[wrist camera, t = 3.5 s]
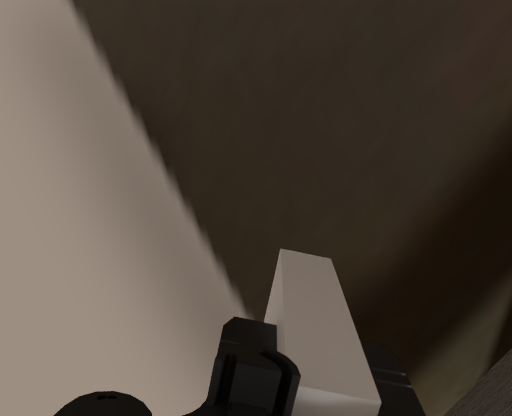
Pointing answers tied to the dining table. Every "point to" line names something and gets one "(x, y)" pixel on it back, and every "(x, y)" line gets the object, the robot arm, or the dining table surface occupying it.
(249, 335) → the robot arm
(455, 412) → the tong arm
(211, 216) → the dining table surface
